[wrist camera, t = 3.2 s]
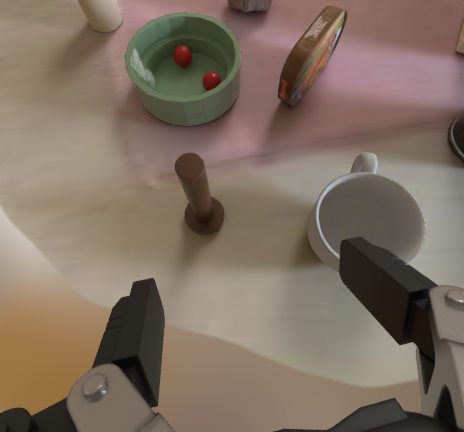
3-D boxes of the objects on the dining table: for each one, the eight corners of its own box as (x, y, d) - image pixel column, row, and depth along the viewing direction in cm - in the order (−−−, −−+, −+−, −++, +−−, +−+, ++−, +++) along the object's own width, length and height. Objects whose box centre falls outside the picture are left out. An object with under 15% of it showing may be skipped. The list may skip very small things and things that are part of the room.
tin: (287, 118, 39) (302, 72, 31) (269, 108, 40) (279, 60, 32) (334, 54, 43) (359, -2, 35) (318, 46, 43) (338, -12, 35)
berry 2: (216, 79, 40) (215, 64, 38) (225, 92, 40) (224, 77, 37) (200, 86, 40) (197, 71, 37) (208, 99, 39) (207, 85, 37)
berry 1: (188, 54, 42) (185, 38, 39) (196, 66, 41) (193, 50, 38) (172, 61, 41) (168, 45, 39) (180, 73, 41) (176, 58, 38)
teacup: (372, 292, 32) (417, 290, 24) (286, 259, 33) (304, 248, 25) (393, 193, 36) (438, 164, 28) (317, 166, 37) (340, 132, 29)
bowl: (209, 34, 44) (206, -2, 39) (258, 100, 40) (262, 71, 35) (123, 70, 42) (107, 37, 36) (166, 145, 38) (155, 120, 32)
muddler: (212, 192, 36) (202, 129, 22) (231, 223, 34) (231, 176, 21) (179, 209, 35) (148, 155, 21) (197, 241, 34) (175, 205, 20)
